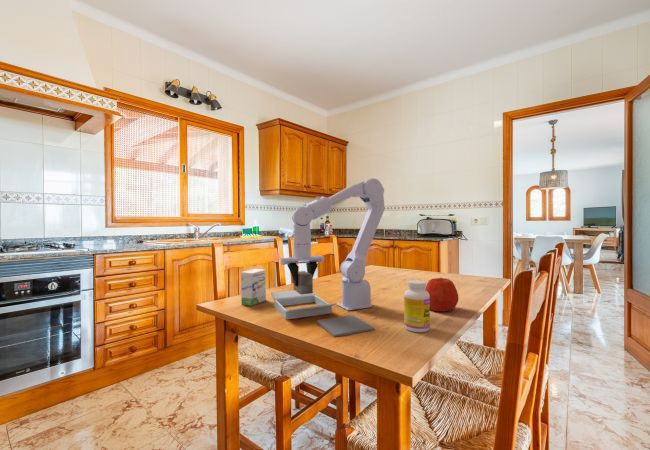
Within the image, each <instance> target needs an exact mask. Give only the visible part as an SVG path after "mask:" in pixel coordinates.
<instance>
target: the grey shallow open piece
mask: <svg viewBox="0 0 650 450" xmlns="http://www.w3.org/2000/svg"><path fill="white" fill-rule="evenodd" d="M270 293H271V297H272V299H273V307H274V308H275V309H276V311H277V312H278V313H279V314H280V315H281V316H282V317H283V319H284V320H286V321H287V320H294V319H299V318H307V317H308V318H309V317H314V316H321V315H328V314H332V312H333V308H332V307H333V306H338V305H337V304H338V302H336V303H329V302H327V301H325V300H324V299H323V298H321V297H319V296H318V295H316V293H314V291H313V293H311V294H302V295H301V294H299V293H298V292H297V291H295V290H294V289H293V290H292V289H291V290H285V291H284V290H283V291H275V292H270ZM314 302H315V303H314ZM310 303H314V304H315V306H314V305H313V306H306V307H299V308H291V309H286V308H285V306H293V305H301V304H310Z"/></svg>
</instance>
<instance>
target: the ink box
mask: <svg viewBox="0 0 650 450" xmlns="http://www.w3.org/2000/svg"><path fill="white" fill-rule="evenodd" d="M266 274H267V273H266V269H262V268H251V269H248V270H244V271H241V272H240V283H241V285H240V289H241V290H240V293H241V294H240V295H241V299H240V300H241V305H243V306H249V307H252V306H255V305H258V304H260V303H263V302H266V301H267V290H266V289H267V288H266V287H267V285H266V281H267V280H266V277H267V276H266Z"/></svg>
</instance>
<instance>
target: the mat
mask: <svg viewBox="0 0 650 450" xmlns="http://www.w3.org/2000/svg"><path fill="white" fill-rule="evenodd" d="M316 323H317V324H318V325H319V326H320V327H321V328H322V329H323V330H325V331H326V332H328V334H329V335H331V336H332V337H334V338H337V337H341V336H342V337H343V336H348V335H353V334H359V333H364V332H369V331H370V332H371V331H375V327H374V326H372V325H371V324H369V323H368V322H366V321H364V320H362V319H361V318H359V317H358V316H356V315H354V314H351V315H345V316H339V317H337V316H336V317H331V318H326V319H317V320H316Z"/></svg>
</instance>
